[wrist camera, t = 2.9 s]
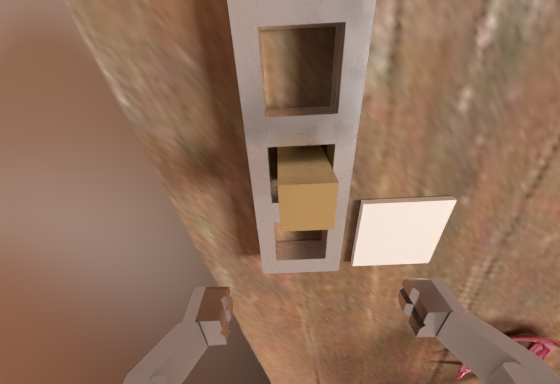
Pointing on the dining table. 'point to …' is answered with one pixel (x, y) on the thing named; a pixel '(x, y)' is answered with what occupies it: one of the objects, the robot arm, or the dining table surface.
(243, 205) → the dining table surface
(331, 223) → the block
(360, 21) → the rail
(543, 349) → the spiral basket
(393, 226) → the pad
